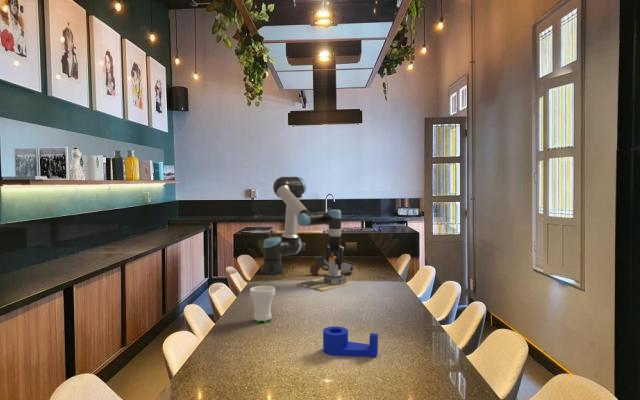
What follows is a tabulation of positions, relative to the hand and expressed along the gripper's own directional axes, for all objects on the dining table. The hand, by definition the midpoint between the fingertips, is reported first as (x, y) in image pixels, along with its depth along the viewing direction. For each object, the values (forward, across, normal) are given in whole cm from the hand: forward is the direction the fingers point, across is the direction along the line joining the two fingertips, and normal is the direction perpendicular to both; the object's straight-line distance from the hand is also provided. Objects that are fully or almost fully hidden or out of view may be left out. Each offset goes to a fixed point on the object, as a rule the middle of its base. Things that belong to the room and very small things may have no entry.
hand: (334, 274), depth 256 cm
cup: (+6, +24, -72) cm, 76 cm away
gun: (+6, -18, +16) cm, 25 cm away
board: (+6, -3, -5) cm, 8 cm away
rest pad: (+5, -8, -12) cm, 15 cm away
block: (+4, 0, 0) cm, 4 cm away
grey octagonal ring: (+5, 0, 0) cm, 5 cm away
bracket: (+6, +74, -71) cm, 103 cm away
